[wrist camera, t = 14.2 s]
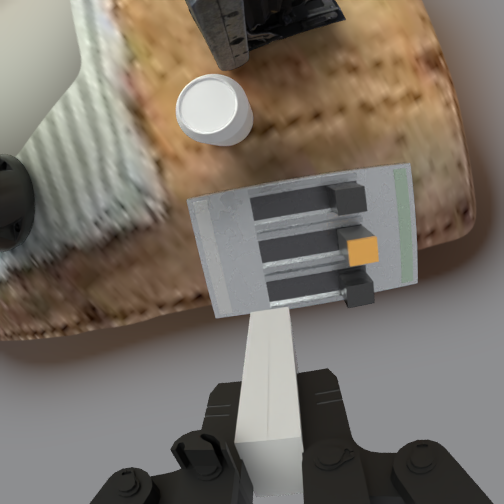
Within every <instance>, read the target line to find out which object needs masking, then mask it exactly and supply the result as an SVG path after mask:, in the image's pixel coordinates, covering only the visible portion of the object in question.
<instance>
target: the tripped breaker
mask: <svg viewBox="0 0 504 504" xmlns="http://www.w3.org/2000/svg"><path fill="white" fill-rule="evenodd" d="M337 236H338V244H339V251H340V252H341V254H342V255H343V257H344V258H345V259H346V261H347V262H348V264H349V265H350V267H351V266H357V265H362V264H368V263H373V262H379V257H378V243H377V237H376V236H375V235H374V234H372V233H371V232H370V231H369V230H367V229H366V228H365V227H364V226H362V225H359V226H353V227H347V228H341V229H337Z"/></svg>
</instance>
